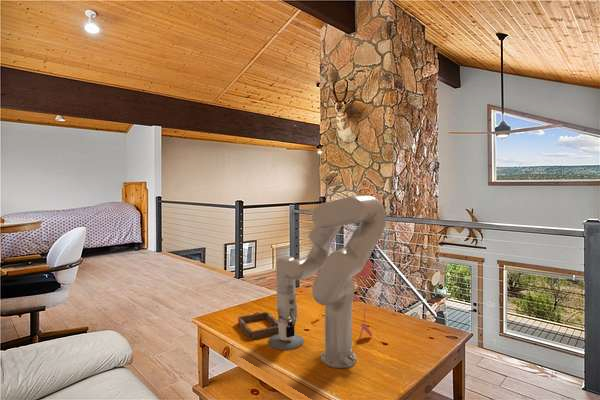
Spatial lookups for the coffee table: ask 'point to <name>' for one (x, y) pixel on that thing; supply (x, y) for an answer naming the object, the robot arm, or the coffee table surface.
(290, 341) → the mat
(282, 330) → the white cylinder
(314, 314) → the coffee table surface
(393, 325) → the coffee table surface
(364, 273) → the figurine
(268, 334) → the brown rectangular frame
